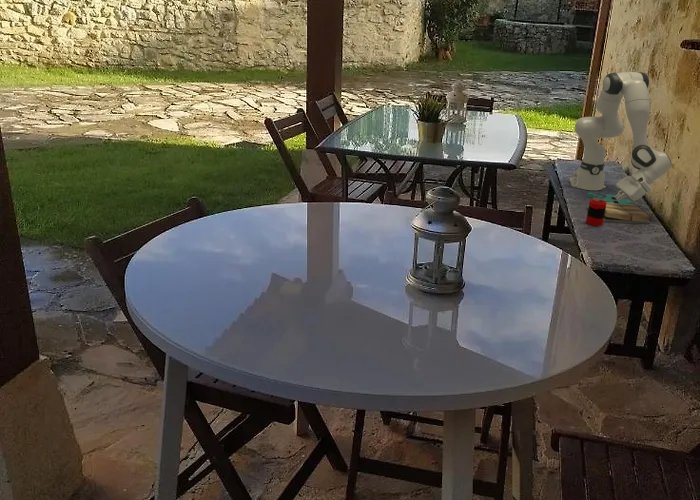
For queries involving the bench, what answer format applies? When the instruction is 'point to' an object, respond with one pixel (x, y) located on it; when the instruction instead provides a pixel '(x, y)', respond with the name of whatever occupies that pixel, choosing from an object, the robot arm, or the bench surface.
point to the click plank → (616, 211)
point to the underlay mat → (621, 220)
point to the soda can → (596, 212)
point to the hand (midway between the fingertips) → (616, 198)
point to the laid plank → (635, 212)
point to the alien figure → (610, 198)
